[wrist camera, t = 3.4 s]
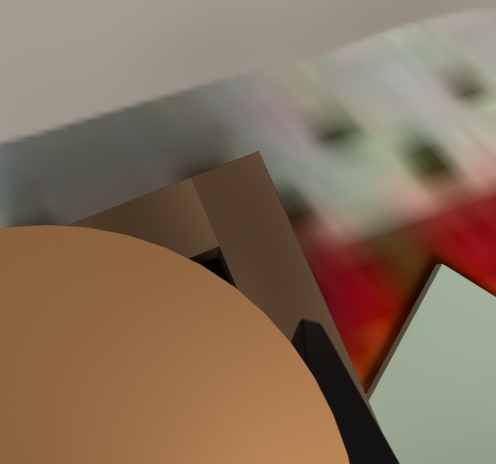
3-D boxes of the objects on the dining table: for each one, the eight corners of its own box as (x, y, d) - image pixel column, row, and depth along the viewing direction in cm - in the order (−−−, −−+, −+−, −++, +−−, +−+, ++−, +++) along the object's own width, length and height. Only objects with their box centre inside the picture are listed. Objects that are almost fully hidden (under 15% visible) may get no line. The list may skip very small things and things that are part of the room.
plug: (193, 419, 16) (73, 1164, 2) (105, 351, 16) (-526, 668, 2) (260, 328, 17) (479, 474, 3) (174, 263, 17) (-4, 107, 3)
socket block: (111, 516, 15) (75, 591, 11) (22, 274, 16) (-39, 267, 12) (344, 404, 17) (384, 437, 13) (248, 184, 17) (258, 151, 14)
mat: (535, 612, 16) (545, 621, 16) (321, 476, 16) (324, 482, 16) (632, 387, 17) (644, 390, 17) (435, 264, 18) (442, 263, 17)
